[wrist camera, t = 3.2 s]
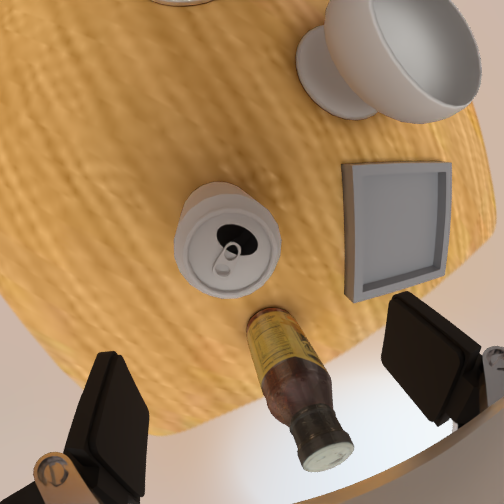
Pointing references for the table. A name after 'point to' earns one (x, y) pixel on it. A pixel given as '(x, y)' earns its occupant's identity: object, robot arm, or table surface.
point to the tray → (395, 225)
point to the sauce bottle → (297, 389)
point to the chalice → (391, 60)
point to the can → (226, 241)
